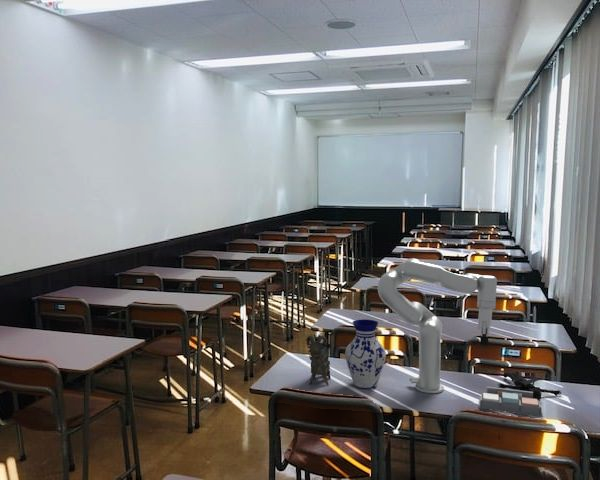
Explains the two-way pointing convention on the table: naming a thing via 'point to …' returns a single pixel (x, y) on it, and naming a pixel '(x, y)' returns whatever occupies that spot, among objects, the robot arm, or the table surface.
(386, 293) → the robot arm
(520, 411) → the keypad
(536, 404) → the terracotta key
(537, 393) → the toy
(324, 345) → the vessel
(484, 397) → the cream key
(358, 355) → the vase
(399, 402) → the table surface
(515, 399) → the teal key
